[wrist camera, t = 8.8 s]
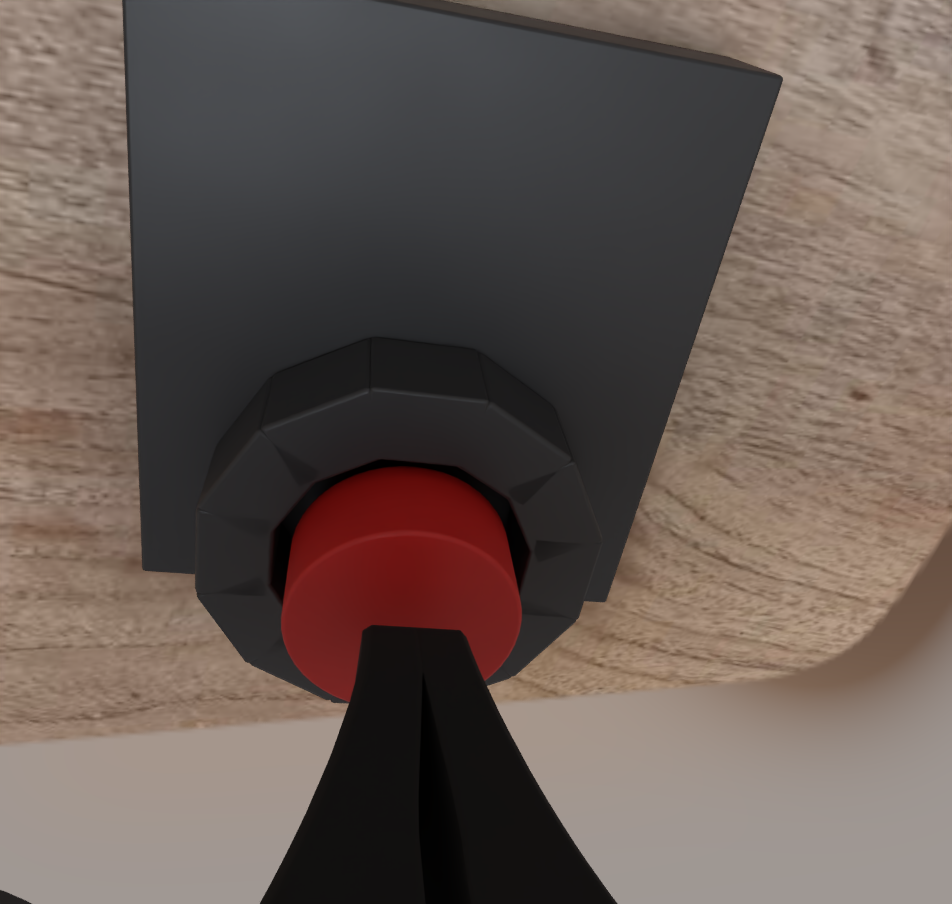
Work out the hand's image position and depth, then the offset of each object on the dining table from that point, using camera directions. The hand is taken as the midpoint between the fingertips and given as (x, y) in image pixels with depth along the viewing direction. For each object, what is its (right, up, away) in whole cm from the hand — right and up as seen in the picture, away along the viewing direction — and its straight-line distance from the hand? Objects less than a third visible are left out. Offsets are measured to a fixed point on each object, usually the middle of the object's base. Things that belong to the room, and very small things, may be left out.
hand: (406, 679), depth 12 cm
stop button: (0, +1, +2) cm, 3 cm away
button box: (0, +6, +4) cm, 7 cm away
